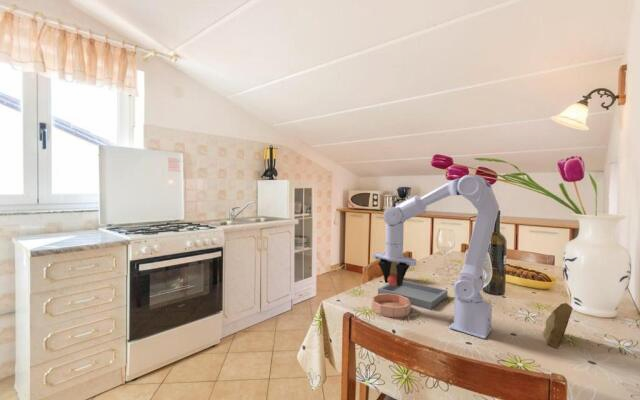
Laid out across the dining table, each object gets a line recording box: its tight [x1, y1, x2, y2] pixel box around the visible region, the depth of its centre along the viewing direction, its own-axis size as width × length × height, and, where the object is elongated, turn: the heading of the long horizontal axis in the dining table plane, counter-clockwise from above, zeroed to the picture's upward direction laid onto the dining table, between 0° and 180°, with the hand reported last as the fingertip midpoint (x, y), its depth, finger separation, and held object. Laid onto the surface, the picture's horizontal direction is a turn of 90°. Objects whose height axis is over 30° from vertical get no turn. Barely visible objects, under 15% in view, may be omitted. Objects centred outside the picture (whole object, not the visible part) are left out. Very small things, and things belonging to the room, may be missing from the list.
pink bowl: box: [371, 293, 412, 319], centre depth 101 cm, size 12×13×3 cm
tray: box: [377, 279, 449, 311], centre depth 114 cm, size 20×16×2 cm
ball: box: [387, 273, 397, 286], centre depth 102 cm, size 4×4×4 cm
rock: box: [542, 302, 574, 349], centre depth 83 cm, size 11×9×10 cm
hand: (393, 283), depth 102 cm, fingers closed on ball, 4 cm apart
